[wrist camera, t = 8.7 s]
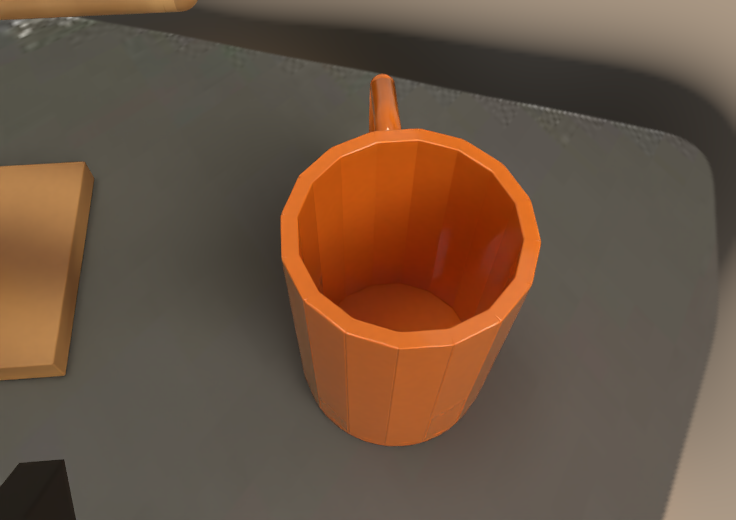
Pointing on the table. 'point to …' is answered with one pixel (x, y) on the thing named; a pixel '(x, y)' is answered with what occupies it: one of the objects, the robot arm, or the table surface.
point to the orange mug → (404, 274)
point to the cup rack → (47, 226)
